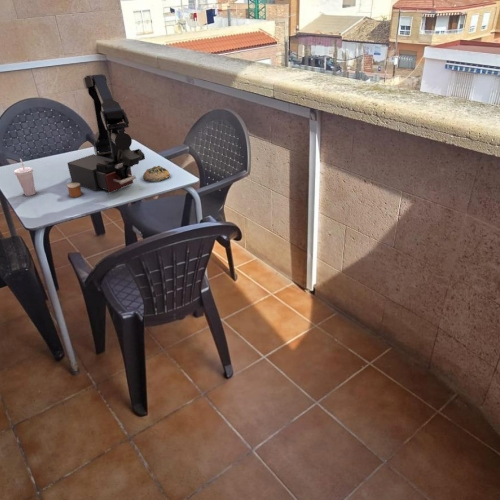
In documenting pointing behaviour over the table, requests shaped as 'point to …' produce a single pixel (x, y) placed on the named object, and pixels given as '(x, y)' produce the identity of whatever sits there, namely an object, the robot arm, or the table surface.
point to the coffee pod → (74, 189)
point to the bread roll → (156, 174)
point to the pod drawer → (112, 180)
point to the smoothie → (26, 179)
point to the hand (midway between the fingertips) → (124, 182)
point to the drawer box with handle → (85, 171)
